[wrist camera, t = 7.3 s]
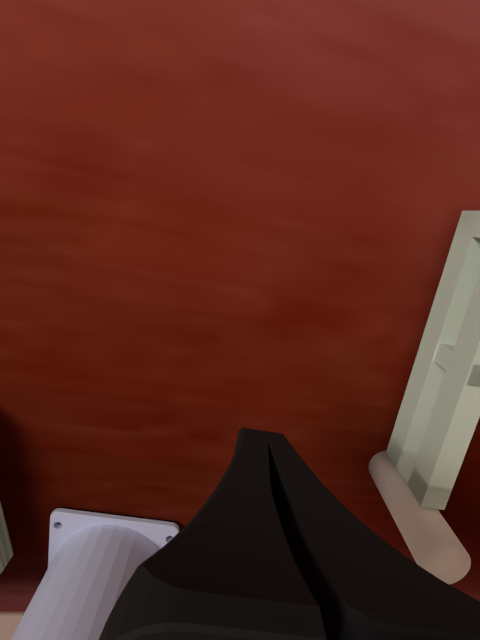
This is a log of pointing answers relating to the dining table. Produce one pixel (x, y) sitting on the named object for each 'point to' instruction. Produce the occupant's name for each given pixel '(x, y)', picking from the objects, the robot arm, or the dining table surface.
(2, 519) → the hardcover book
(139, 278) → the dining table surface
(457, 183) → the dining table surface
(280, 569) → the robot arm
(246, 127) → the dining table surface
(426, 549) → the gate frame
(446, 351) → the bar
